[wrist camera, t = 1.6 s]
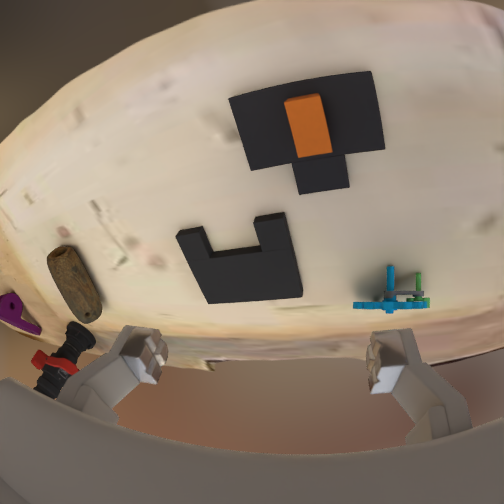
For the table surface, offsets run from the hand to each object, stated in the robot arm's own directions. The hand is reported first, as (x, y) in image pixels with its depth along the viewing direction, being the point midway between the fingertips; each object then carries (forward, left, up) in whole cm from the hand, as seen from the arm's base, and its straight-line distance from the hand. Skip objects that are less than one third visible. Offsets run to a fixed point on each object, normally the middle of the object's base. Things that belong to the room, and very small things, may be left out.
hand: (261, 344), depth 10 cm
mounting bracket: (+89, +22, -23) cm, 94 cm away
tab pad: (-2, -2, -23) cm, 23 cm away
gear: (-9, +19, -23) cm, 31 cm away
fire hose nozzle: (+62, +29, -23) cm, 72 cm away
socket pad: (+10, +12, -23) cm, 28 cm away
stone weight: (+42, +11, -23) cm, 49 cm away
